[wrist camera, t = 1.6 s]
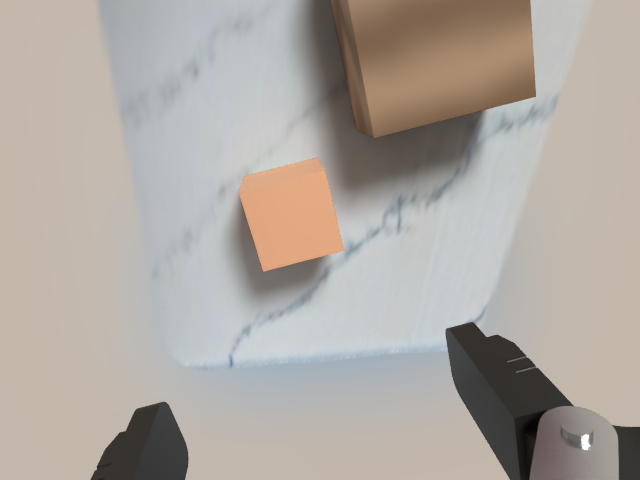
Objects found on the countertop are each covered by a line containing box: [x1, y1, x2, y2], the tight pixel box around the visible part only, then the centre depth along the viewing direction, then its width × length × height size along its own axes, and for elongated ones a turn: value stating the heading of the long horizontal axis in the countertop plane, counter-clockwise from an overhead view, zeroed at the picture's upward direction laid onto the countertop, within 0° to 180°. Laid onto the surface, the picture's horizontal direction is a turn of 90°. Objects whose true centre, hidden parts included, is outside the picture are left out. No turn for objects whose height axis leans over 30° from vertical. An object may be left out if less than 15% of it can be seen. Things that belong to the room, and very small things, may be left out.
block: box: [239, 158, 344, 272], centre depth 30 cm, size 6×6×6 cm
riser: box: [330, 0, 536, 138], centre depth 27 cm, size 12×10×6 cm
